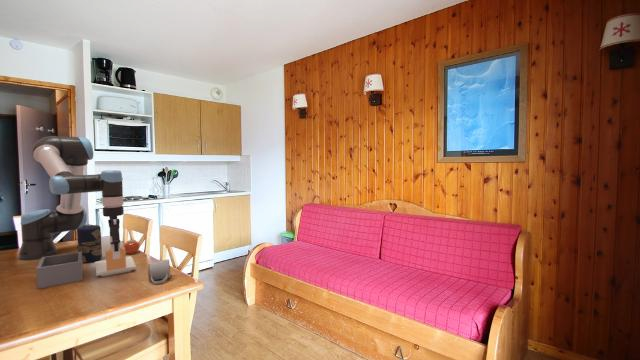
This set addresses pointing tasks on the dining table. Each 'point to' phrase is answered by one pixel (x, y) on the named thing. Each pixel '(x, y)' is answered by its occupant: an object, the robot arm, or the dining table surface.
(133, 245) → the tomato
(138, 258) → the dining table surface
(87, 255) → the canister
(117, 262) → the lid
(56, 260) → the tub
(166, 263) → the ceramic mug
